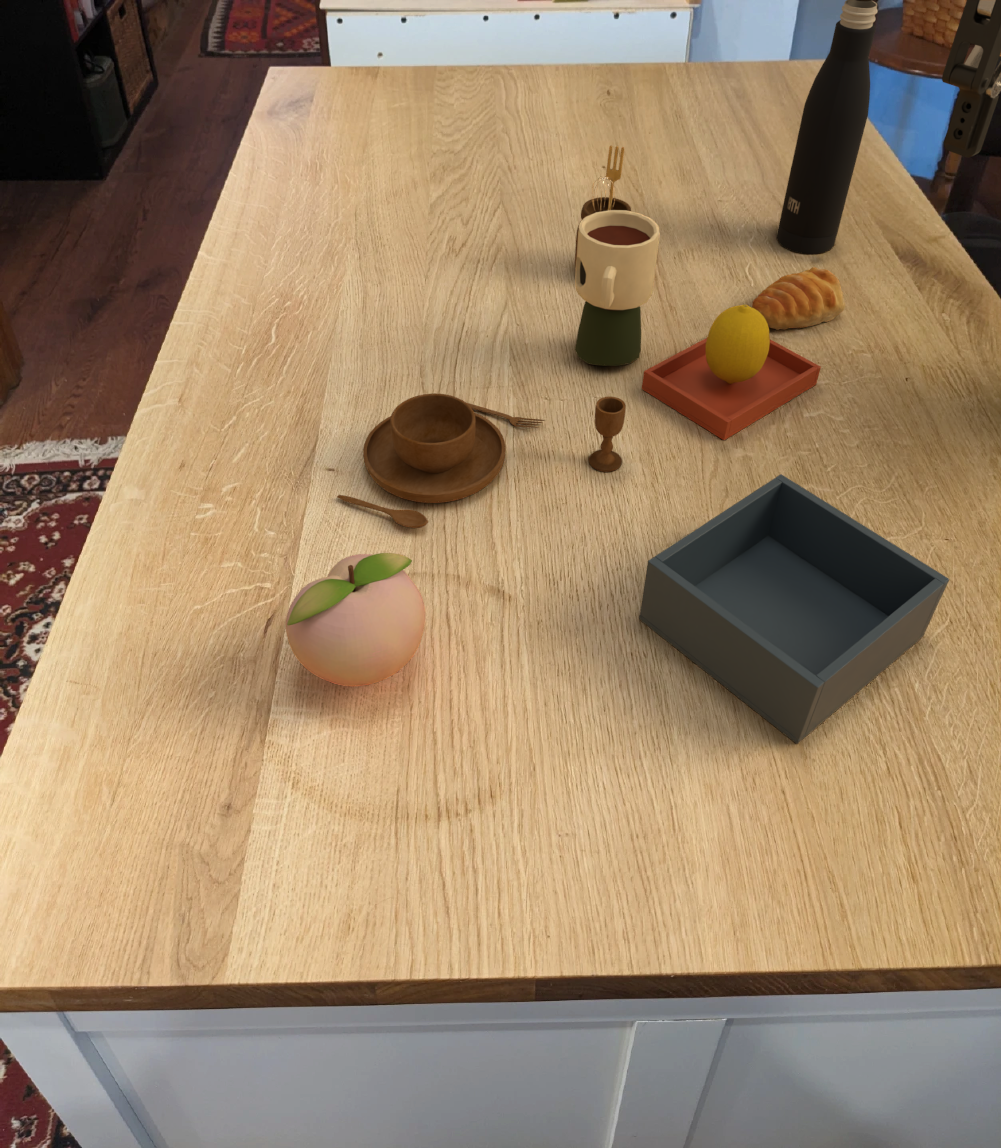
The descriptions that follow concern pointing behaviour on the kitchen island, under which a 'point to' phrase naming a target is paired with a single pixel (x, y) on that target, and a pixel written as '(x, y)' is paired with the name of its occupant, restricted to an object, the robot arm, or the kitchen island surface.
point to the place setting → (454, 450)
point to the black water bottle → (830, 136)
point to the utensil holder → (605, 202)
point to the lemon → (737, 344)
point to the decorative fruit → (358, 620)
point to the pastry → (801, 300)
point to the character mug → (614, 284)
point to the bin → (789, 603)
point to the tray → (728, 388)
